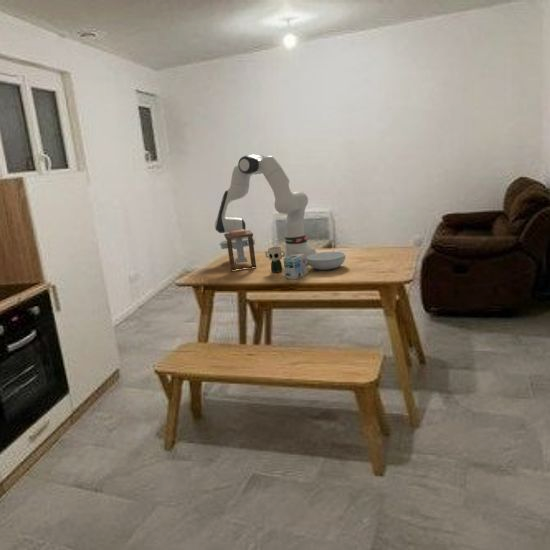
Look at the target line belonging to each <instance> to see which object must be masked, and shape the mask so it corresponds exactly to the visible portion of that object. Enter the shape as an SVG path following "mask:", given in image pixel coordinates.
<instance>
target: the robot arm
mask: <svg viewBox="0 0 550 550" xmlns="http://www.w3.org/2000/svg"><path fill="white" fill-rule="evenodd" d="M259 174H260V175H261V174H262V175H263V176H264V178H265V180H266V181H267V183H268V185H269V186H270V188H271V189H272V192H273V197H274V199H275V201H274V203H273V205H274V208H275V211H276V212H277V213H279V214H282V215H287V216H286V219H285V221H284V224H283V225H284V234H285V236H284V242H285V247H284V252H285V257H288V256H290V255H293V254H305V259H306V257H307V256H309V255H312V254H316V253H317V251H316V249H315V248H314V247H313V246H312V245H311V244H310V243H309V242H308V238H309V237H308V236H306V234H305V225H304V219H305V212H306V207H307V206H308V204H309V203H308V202H309V198H308V195H307V194H306V193H304V192H303V191H302V192H301V191H294V192H293V191H292V190H291V189H290V186H289V185H290V179H289V177H288V176H287V175H286V174H287V173H285V171H284V169H283V168H282V165H280V163H279V162H278V161H277V160H276V158H275V157H274V156H272V155H267V156H264V155H261V154H259V155H257V154H249V155H248V154H247V155H243V156H241V157H240V158H239V160H238V163H237V165H235V166H234V167H233V170H232V174H231V179H230V185H229V188H228V189H227V190H225V191H224V193H223V196H222V199H221V202H220V206H219V210H218V214H217V217H216V219H215V222H214V228H215V230H216V232H218V233H219V234H226V233H230V231H233V230H240V229H244V230H245V231H246V222H245V220H244V218H242V217H229V216H226V214H227V209H228V205H229V204H230V203H231V202H233V201H236V200H239V199H242V198H244V197H246V196H247V194H248V193H249V189H250V181H251V177H252V176H253V175H259ZM231 241H232V249H233V250H237V248H236V241H235V239H231ZM242 242H243V248H245V247H249V243H248V237H243V238H242ZM255 244H256V241H255V238H254V237H253V245H254V246H255ZM219 246H220V249H221V250H228V246H227V240H222V241H221V242H220V243H219ZM285 257H284V258H285ZM306 265H309V264H308V263H307V260H306Z"/></svg>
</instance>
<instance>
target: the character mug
mask: <svg viewBox="0 0 550 550" xmlns="http://www.w3.org/2000/svg"><path fill="white" fill-rule="evenodd" d="M264 253H265V258H267V259H268V260H269V261H271V262H270V271H271V272H272V273H275V272H277V273H278V272H281V271H282V270H283V265H282V261H281V260H282V258H285V250H282V247H281V246H271V247H268V248H267V251H265V252H264ZM274 271H275V272H274Z"/></svg>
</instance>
